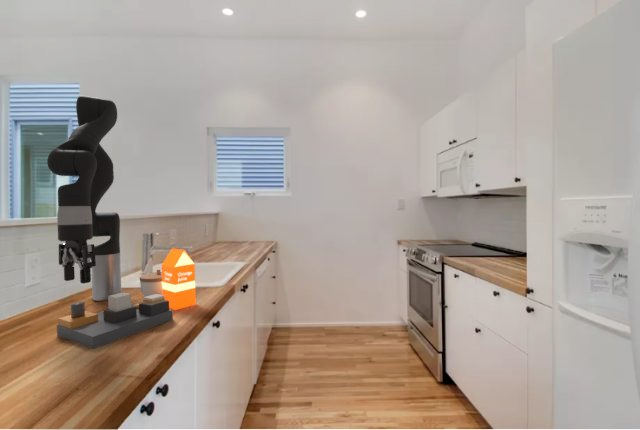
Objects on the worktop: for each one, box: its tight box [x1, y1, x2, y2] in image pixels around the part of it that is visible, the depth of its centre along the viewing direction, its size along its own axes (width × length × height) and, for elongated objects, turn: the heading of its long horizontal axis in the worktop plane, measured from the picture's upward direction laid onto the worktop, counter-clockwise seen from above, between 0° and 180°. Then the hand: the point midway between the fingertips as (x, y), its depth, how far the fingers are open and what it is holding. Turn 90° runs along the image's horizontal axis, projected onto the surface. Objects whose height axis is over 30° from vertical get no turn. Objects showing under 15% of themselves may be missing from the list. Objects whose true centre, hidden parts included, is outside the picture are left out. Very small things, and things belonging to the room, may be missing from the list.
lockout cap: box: [57, 301, 98, 329], centre depth 86 cm, size 7×7×5 cm
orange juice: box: [161, 247, 197, 311], centre depth 110 cm, size 8×9×20 cm
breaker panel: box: [56, 300, 173, 350], centre depth 90 cm, size 18×22×6 cm
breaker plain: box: [107, 292, 132, 312], centre depth 89 cm, size 4×4×4 cm
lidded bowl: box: [139, 269, 163, 297], centre depth 119 cm, size 13×13×11 cm
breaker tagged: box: [142, 294, 165, 305], centre depth 94 cm, size 4×4×4 cm
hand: (77, 281), depth 86 cm, fingers open, 8 cm apart
